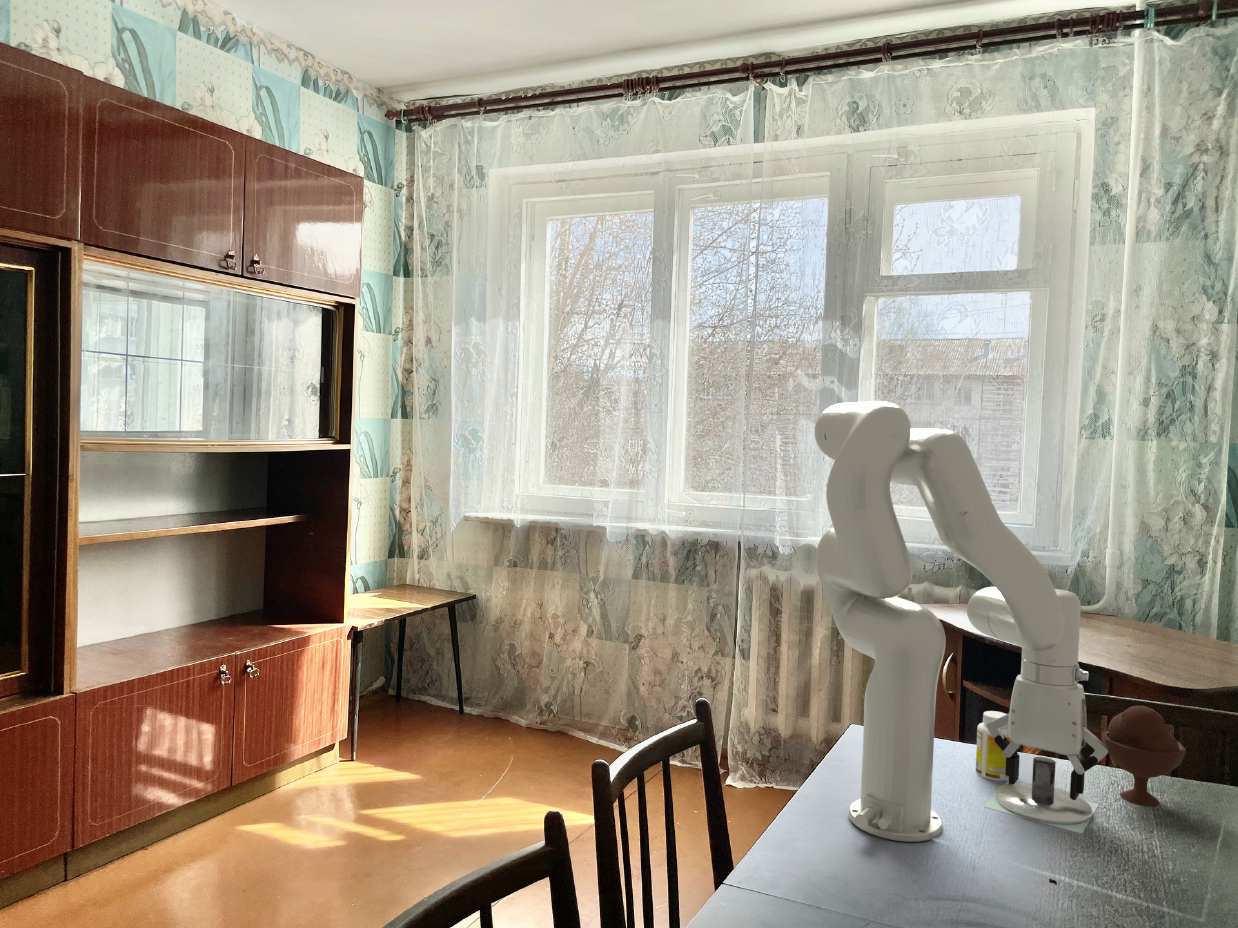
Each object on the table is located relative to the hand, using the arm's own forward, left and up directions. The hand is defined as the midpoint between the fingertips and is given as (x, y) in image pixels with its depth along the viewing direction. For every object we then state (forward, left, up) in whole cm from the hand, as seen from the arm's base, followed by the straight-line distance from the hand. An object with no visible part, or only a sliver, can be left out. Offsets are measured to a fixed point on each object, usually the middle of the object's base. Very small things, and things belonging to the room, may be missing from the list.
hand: (1043, 788), depth 132 cm
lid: (0, 0, -3) cm, 3 cm away
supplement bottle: (+8, +9, -3) cm, 12 cm away
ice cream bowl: (+13, -11, -3) cm, 17 cm away
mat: (0, 0, -3) cm, 3 cm away
